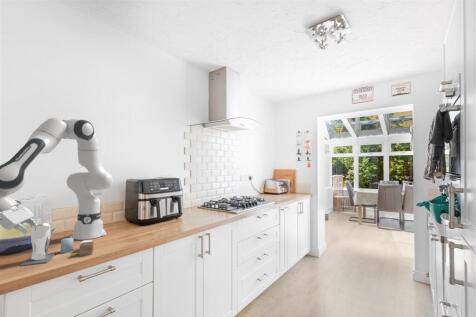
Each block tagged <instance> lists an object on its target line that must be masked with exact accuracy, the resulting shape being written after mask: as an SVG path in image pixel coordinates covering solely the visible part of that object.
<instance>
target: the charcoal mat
mask: <svg viewBox="0 0 476 317" xmlns="http://www.w3.org/2000/svg"><path fill="white" fill-rule="evenodd" d="M55 255H56V252H51V253H50V252H49V257H48V258H46V259H43V260H38V261H32V260H31V258H32V255H31V256H29V257H28V258H27V259H26V260H24V262H22V263H21V264H20V265H19V266H20V267H24V266H34V265H42V264H47V263H49V262H50V260H51V259H52V258H53V257H54V256H55Z"/></svg>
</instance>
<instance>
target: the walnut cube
mask: <svg viewBox="0 0 476 317" xmlns="http://www.w3.org/2000/svg"><path fill="white" fill-rule="evenodd" d="M81 242H82V241H81ZM81 242H80V243H81ZM80 243H79V254H78V256H79V257H82V256H91V255H93V253H94V251H95V250H94V248H95V247H94V244H95V243H94V241H93V240H92V242H82V243H81V244H80Z"/></svg>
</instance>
